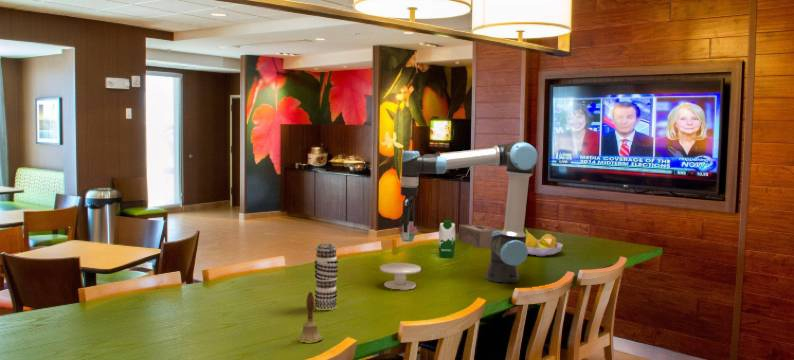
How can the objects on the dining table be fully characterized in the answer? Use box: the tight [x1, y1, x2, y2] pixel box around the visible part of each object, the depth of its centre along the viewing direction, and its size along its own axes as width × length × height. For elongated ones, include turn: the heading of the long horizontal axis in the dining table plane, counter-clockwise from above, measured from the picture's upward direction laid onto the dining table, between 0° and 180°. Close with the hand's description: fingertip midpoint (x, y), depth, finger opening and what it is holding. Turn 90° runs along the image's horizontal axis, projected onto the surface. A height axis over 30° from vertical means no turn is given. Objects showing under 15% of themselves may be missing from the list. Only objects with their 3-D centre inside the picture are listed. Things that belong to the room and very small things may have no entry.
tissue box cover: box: [458, 223, 503, 249], centre depth 399 cm, size 26×14×10 cm, turn 23°
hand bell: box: [298, 291, 323, 341], centre depth 220 cm, size 8×8×16 cm
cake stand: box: [379, 262, 422, 291], centre depth 293 cm, size 18×18×8 cm
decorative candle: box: [313, 243, 339, 309], centre depth 256 cm, size 9×9×25 cm
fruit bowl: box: [524, 229, 563, 257], centre depth 373 cm, size 28×27×11 cm
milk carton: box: [438, 219, 456, 259], centre depth 358 cm, size 9×9×20 cm
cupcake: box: [397, 224, 419, 243], centre depth 290 cm, size 9×8×12 cm
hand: (407, 237), depth 290 cm, fingers closed on cupcake, 8 cm apart
